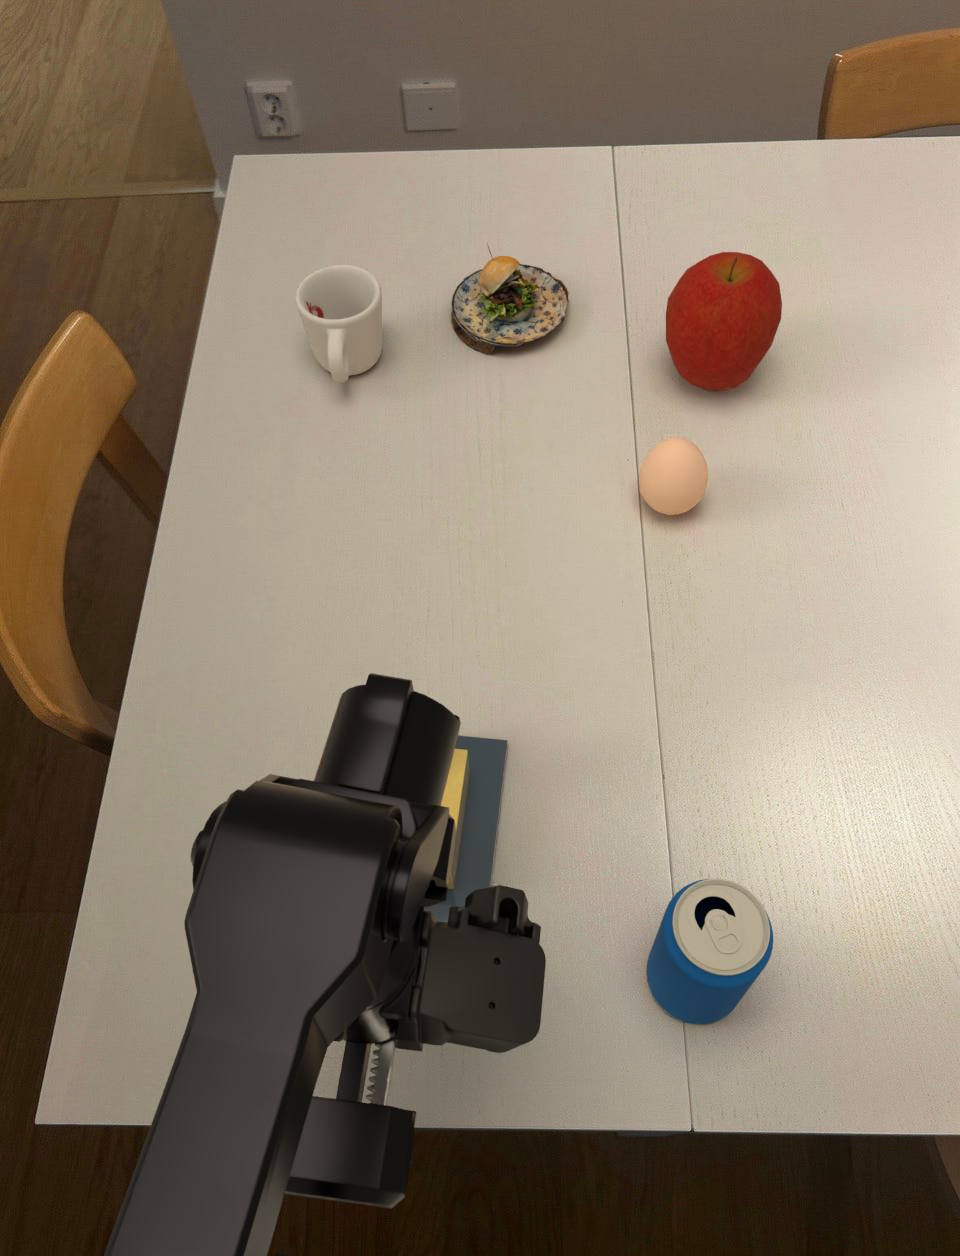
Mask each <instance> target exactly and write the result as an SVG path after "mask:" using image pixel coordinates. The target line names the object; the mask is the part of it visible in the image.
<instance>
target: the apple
mask: <svg viewBox="0 0 960 1256" xmlns="http://www.w3.org/2000/svg"><path fill="white" fill-rule="evenodd" d="M782 311H783V300H782V293H781V287H780V282H779V281H778V279H777V278H776V276H775V274H774V273H773V271H772V270H771V269H770V268H769V267H768V265H766V263H764V262H763V260H761V259H759V258H758V257H755V256H754V255H752V254H748V253H743V252H738V251H722V252H719V253H713V254H710V255H708V256H707V257H705V258H703V259H702V260H699V261H698V262H696V263H694V264H693V265H691V266H690V267H688V268H686V270H685V271H684V272H683V274H682V275H681V276H680V278H679V279H678V281H677V282H676V284H675V286H674V287H673V289H672V290H671V292H670V294H669V296H668V297H667V302H666V310H665V343H666V346H667V349H668V352H669V354H670V358H671V361H672V364H673V366H674V368H675V369H676V371H677V372H678V374H679V376H680V377H681V378H683V380H685V381H686V382H688V384H690V385H692V386H695V387H697V388H700V389H703V390H705V391H715V392H717V391H724V390H729V389H733V388H734V389H735V388H738V387H739V386H741V385H742V384H743V383H745V382H746V381H748V380H749V379H750V377H751V376H752V375H753V373H754V371H756V369H757V367H758V366H759V365H760V363H761V362H762V361H763V359H764V358H765V356H766V355H767V354H768V352H769V350H770V349H771V348H772V346H773V343H774V340H775V337H776V334H777V331H778V329H779V326H780V324H781V320H782Z"/></svg>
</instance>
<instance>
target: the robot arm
mask: <svg viewBox="0 0 960 1256" xmlns="http://www.w3.org/2000/svg"><path fill="white" fill-rule="evenodd" d="M423 694H424V693H421V694H420V692H418V691H416V690H415V689H414V683H413V680H412V679H408V678H402V677H396V676H392V675H391V676H390V675H384V674H379V673H373V672H370V673H369V674H368V676H367V679H366V682H365V684H359V685H354V686H352V687H350V688H347V689H346V690H345V691H343V692H342V693H341V694H340V695H341V696H340V697H339V701H338V704H337V707H336V710H335V713H334V715H333V719H332V722H331V725H330V729H329V731H328V735H327V738H326V740H325V744H324V747H323V750H322V754H321V757H320V759H319V763H318V765H317V769H316V772H315V776H314V779H313V780H310V779H304V778H295V777H289V776H283V775H277V774H272V773H270V774H268V775H266V776H264V777H263V778H261V779H259V780H256V781H254V782H253V783H252V784H250V785H249V786H248V787H246V788H245V789H238V788H237V789H236V790H234V791H233V792H231V793H230V795H229V796H228V798H227V800H226V801H224V802H222V803H221V804H219V805H217V807H215V809H213V811H212V812H211V814H210V815H209V817H208V819H207V820H206V821H205V824H204V827H203V828H202V830H200V831H199V832H198V833H197V835H196V837H195V839H194V842H193V843H192V847H191V849H190V850H191V851H190V863H191V866H192V880H191V883H192V890H193V891H192V894H191V897H190V901H189V904H188V907H187V909H186V913H185V917H184V925H183V926H184V932H185V937H186V943H187V947H188V952H189V953H188V954H189V957H190V963H191V969H192V974H193V978H194V983H195V989H196V993H195V998H194V1001H193V1004H192V1007H191V1010H190V1014H189V1017H188V1020H187V1024H186V1027H185V1029H184V1033H183V1035H182V1039H181V1041H180V1044H179V1047H178V1050H177V1052H176V1055H175V1057H174V1060H173V1063H172V1066H171V1069H170V1071H169V1075H168V1076H167V1080H166V1083H165V1085H164V1088H163V1091H162V1094H161V1097H160V1099H159V1102H158V1105H157V1108H156V1110H155V1113H154V1116H153V1119H152V1121H151V1124H150V1127H149V1130H148V1132H147V1135H146V1138H145V1141H144V1143H143V1146H142V1149H141V1152H140V1154H139V1157H138V1160H137V1162H136V1166H135V1168H134V1171H133V1174H132V1177H131V1178H130V1183H129V1185H128V1187H127V1190H126V1193H125V1196H124V1199H123V1202H122V1204H121V1207H120V1210H119V1212H118V1215H117V1218H116V1220H115V1223H114V1226H113V1229H112V1231H111V1235H110V1238H109V1240H108V1243H107V1246H106V1248H105V1250H104V1254H103V1256H268V1254H269V1250H270V1247H271V1244H272V1239H273V1236H274V1232H275V1229H276V1225H277V1222H278V1218H279V1215H280V1211H281V1208H282V1204H283V1200H284V1197H285V1195H290V1196H298V1197H305V1198H312V1199H313V1198H314V1199H319V1200H326V1201H334V1202H342V1203H350V1204H356V1205H357V1204H358V1205H365V1206H369V1207H377V1208H378V1207H379V1208H385V1209H392V1208H394V1207H395V1206H396V1205H397V1204H399V1203H400V1202H401V1201H402V1200H403V1199H404V1198H406V1196H407V1195H406V1194H407V1189H408V1182H409V1181H408V1180H409V1175H410V1167H411V1166H410V1165H411V1160H412V1153H413V1147H414V1145H413V1144H414V1140H415V1139H414V1138H415V1126H416V1125H415V1124H416V1117H417V1111H416V1110H410V1109H405V1108H400V1107H397V1106H393V1105H388V1101H389V1096H390V1095H389V1094H390V1088H391V1081H392V1077H393V1076H392V1075H393V1070H394V1069H393V1068H394V1063H395V1062H394V1061H395V1057H396V1051H397V1049H399V1050H406V1051H415V1052H423V1051H424V1045H432V1046H439V1047H441V1046H444V1045H445V1044H446V1043H448V1044H451V1045H452V1044H453V1045H458V1046H464V1047H468V1048H474V1049H479V1050H484V1051H487V1052H489V1053H495V1054H503V1053H507V1052H509V1051H511V1050H513V1049H517V1048H518V1047H521V1046H523V1045H526V1044H528V1043H531V1041H533V1040H534V1039H535V1038H536V1037H537V1035H538V1033H539V1031H540V1028H541V1024H542V1023H541V1022H542V1009H543V999H544V986H545V977H546V976H545V975H546V966H547V960H546V959H547V957H546V954H545V951H544V949H543V947H542V945H541V944H540V943H541V941H540V940H541V933H542V932H541V930H542V926H541V925H539V924H538V923H536V922H533V921H531V920H530V917H529V915H528V913H529V900H528V898H527V895H526V893H525V891H524V890H523V889H519V888H515V887H510V886H506V885H505V886H504V885H501V884H498V885H493V886H492V885H491V887H487V888H482V889H477V890H475V891H473V892H472V893H470V894H469V895H468V896H467V897H466V900H465V907H459V906H453V907H450V911H449V918H448V923H447V922H438V919H437V915H434V914H432V911H425V908H427V907H430V906H433V905H435V904H438V903H441V902H444V901H446V898H447V891H448V883H449V880H450V875H451V868H452V861H453V853H454V846H455V839H456V826H455V820H454V819H453V818H452V817H451V816H450V815H449V807H444V806H441V802H442V798H443V794H444V790H445V786H446V782H447V778H448V774H449V770H450V766H451V762H452V758H453V754H454V750H455V746H456V741H457V737H458V736H459V733H460V728H461V725H462V722H461V718H460V716H459V715H456V714H454V713H453V712H452V711H451V710H450V709H448V708H447V707H446V706H445V705H444V704H442V703H441V702H438V701H437V700H435V699H434V698H431V697H430V696H428V695H426V694H424V695H423ZM425 695H426V696H425ZM427 696H428V697H427ZM342 1041H344V1042H345V1045H344V1051H343V1057H342V1061H341V1068H340V1074H339V1078H338V1079H339V1080H338V1084H337V1089H336V1095H335V1098H331V1097H330V1098H329V1097H323V1096H315V1095H314V1092H315V1090H316V1089H315V1088H316V1085H317V1082H318V1079H319V1075H320V1072H321V1069H322V1067H323V1063H324V1059H325V1057H326V1054H327V1051H328V1048H329V1046H330V1045H331V1044H333V1042H339V1043H340V1042H342ZM372 1045H374V1046H375V1047H377V1048H379V1049H375V1050H373V1051H372V1054H373V1055H374V1056H377V1057H376V1058H373V1059H371V1063H372V1064H373V1065H375V1066H374V1067H371V1068H370V1069H369V1072H371V1073H372V1074H374V1075H373V1076H369V1077H368V1081H369V1082H371V1083H373V1084H370V1085H367V1087H366V1090H368V1091H369V1092H370V1093H368V1094H366V1095H365V1099H366V1100H368V1101H370V1102H363V1097H364V1092H365V1084H366V1080H367V1074H368V1067H369V1060H370V1055H371V1049H372ZM371 1092H372V1093H371ZM273 1256H298V1255H296V1254H292V1253H289V1252H288V1253H287V1252H286V1251H285V1252H284V1251H281V1250H277V1249H275V1251H274V1253H273Z"/></svg>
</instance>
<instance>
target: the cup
mask: <svg viewBox="0 0 960 1256" xmlns="http://www.w3.org/2000/svg"><path fill="white" fill-rule="evenodd" d="M295 306H296V309H297V312H298V314H299V317H300V320H301V322H302V326H303V328H304V331H305V334H306V336H307V339H308V342H309V344H310V347H311V350H312V352H313V355H314V358H315V359H316V361H317V362H318V364H319V365H320V366H321V367H322V368H323V369H324V370H326V371H327V372H329V373H330V375H331V378H332V380H333V382H336V383H346V382H347V381H348V379H349V377H350V376H356V375H359V374H362V373H365V372H366V371H368V370H370V369H371V368H372V367H374V365H376V363H377V362H378V361H379V359H380V357H381V354H382V350H383V293H382V287H381V284H380V281H379V280H378V278H376V276H375V275H373V274H372V273H371V272H370V271H368V270H367V269H364V268H362V267H359V266H356V265H350V264H335V265H334V264H333V265H329V266H325V267H322V268H319V269H317V270H315V271H313V272H312V273H310V274H309V275H306V277H305V278H304V279H302V281H301V282H300V283H299V285H298V287H297V288H296V292H295Z"/></svg>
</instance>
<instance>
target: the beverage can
mask: <svg viewBox="0 0 960 1256" xmlns="http://www.w3.org/2000/svg"><path fill="white" fill-rule="evenodd" d="M770 919H771V918H770V917H769V915H768V912H767V911H766V909H765V907H764V906H763V904H762V902H761V901H760V900H759V899H758V897H757V896H756V895H755V894H754V893H753V892H751V891H750V890H749V889H748V888H746V887H745V886H743V885H741V884H739V883H737V882H735V881H732V880H729V879H724V878H723V879H722V878H704V879H700V880H697V881H693V882H691V883H688V884H687V885H685V886H684V887H682V888H680V890H678V891H677V892H676V893H675V894H674V895H673V897H672V898H671V899H670V901H669V902H668V904H667V906H666V908H665V911H664V914H663V917H662V919H661V921H660V925H659V927H658V930H657V932H656V936H655V938H654V941H653V943H652V946H651V949H650V951H649V954H648V957H647V961H646V980H647V984H648V987H649V990H650V993H651V994H652V996H653V998H654V1000H655V1001H656V1003H657V1004H658V1005H659V1006H660V1008H662V1010H663V1011H665V1012H666V1013H667V1014H668V1015H670V1016H671V1017H672V1018H675V1019H676V1020H678V1021H680V1022H683V1023H686V1024H690V1025H709V1024H714V1023H716V1022H719V1021H721V1020H723V1019H724V1018H726V1017H727V1016H728V1015H730V1014H731V1013H732V1012H733V1011H734V1010H735V1008H736V1007H737V1005H738V1004H739V1003H740V1002H741V1000H742V999H743V998H744V996H745V995H746V994H747V992H748V991H749V989H750V988H751V987H752V985H753V984H754V983H755V981H756V980H757V979H758V978H759V976H760V975H761V974H762V973H763V971H764V969H765V968H766V967H767V965H768V963H769V961H770V958H771V956H772V952H773V948H774V930H773V926H772V922H771V920H770Z"/></svg>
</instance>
